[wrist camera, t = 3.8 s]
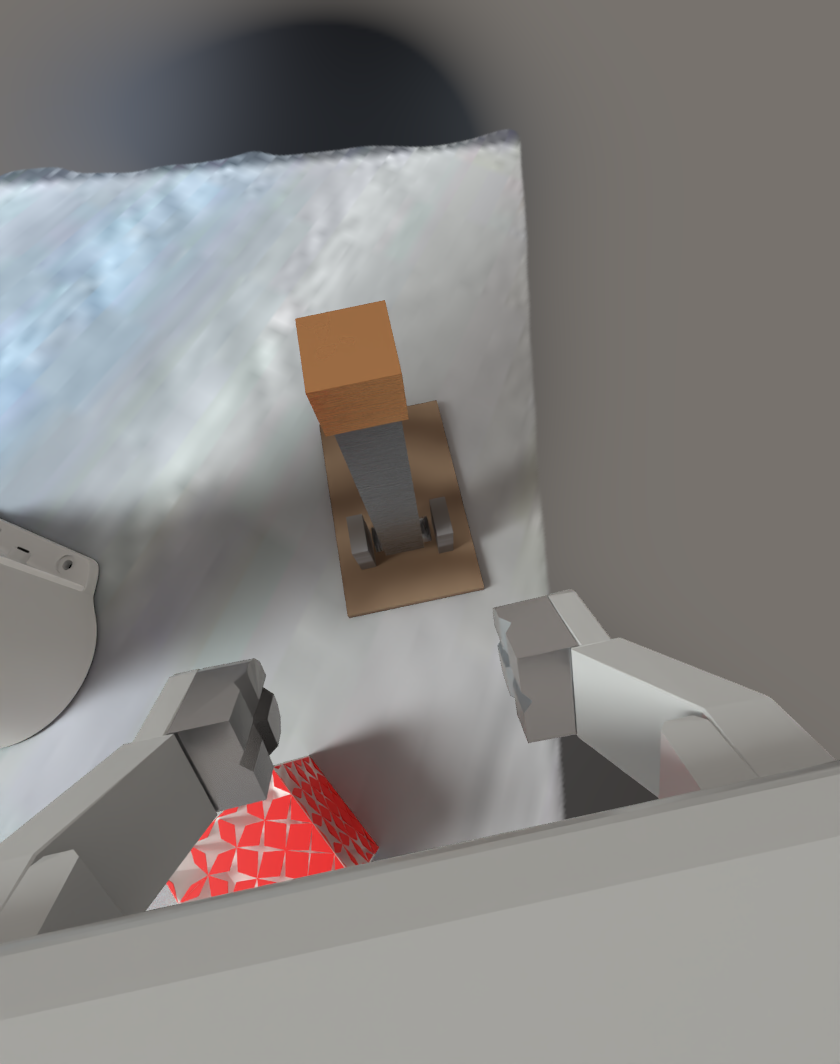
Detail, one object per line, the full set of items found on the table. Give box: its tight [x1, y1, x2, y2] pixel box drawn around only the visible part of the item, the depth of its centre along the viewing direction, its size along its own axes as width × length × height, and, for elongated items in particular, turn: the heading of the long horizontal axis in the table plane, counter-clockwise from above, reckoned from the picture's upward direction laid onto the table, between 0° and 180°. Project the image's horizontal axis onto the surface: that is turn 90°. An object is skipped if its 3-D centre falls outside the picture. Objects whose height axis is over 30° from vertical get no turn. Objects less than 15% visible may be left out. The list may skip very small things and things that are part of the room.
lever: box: [295, 300, 432, 556], centre depth 29 cm, size 4×4×22 cm
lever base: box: [319, 400, 484, 618], centre depth 40 cm, size 18×11×5 cm, turn 11°
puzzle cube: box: [166, 755, 379, 904], centre depth 30 cm, size 8×8×8 cm
